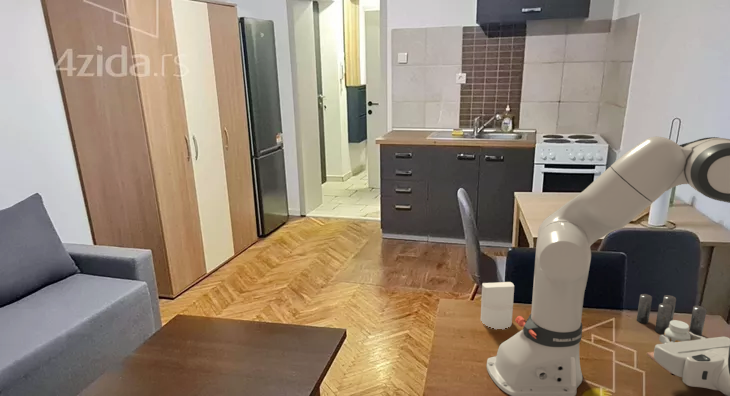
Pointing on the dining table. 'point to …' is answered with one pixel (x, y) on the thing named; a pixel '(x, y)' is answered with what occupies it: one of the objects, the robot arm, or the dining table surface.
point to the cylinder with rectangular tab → (497, 304)
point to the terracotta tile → (651, 355)
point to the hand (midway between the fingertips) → (673, 335)
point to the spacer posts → (669, 314)
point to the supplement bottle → (678, 331)
